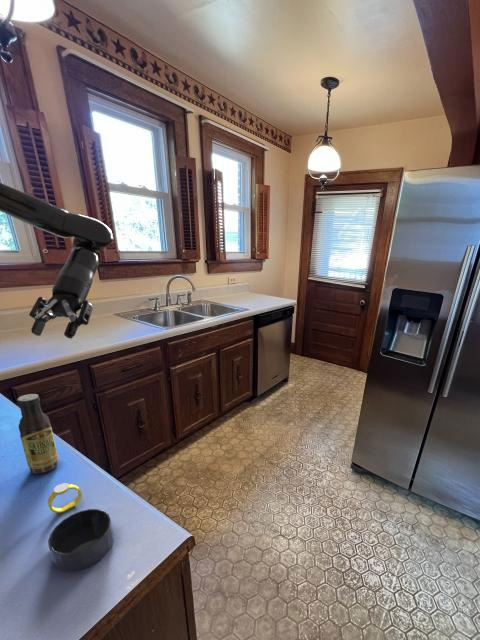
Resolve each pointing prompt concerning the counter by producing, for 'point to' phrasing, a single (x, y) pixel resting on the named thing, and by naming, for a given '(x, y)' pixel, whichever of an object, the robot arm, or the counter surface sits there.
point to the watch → (60, 490)
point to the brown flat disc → (47, 471)
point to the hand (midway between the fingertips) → (51, 335)
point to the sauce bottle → (36, 435)
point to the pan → (81, 540)
